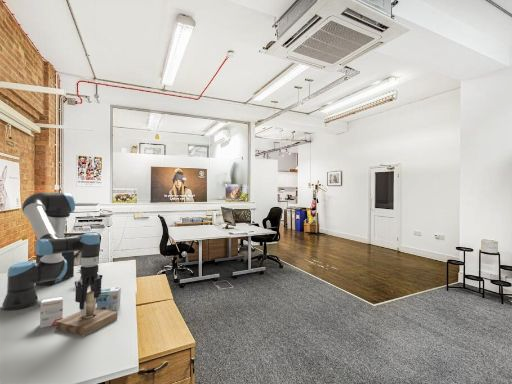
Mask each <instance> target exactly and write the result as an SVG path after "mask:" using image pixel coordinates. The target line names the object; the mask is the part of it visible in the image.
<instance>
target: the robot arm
mask: <svg viewBox="0 0 512 384" xmlns="http://www.w3.org/2000/svg"><path fill="white" fill-rule="evenodd" d="M75 209H76V202H75V199H74V197H73V195H72V193H69V192H68V193H67V192H66V193H65V192H37V193H33V194H30V195H29V196H28V197H26V198H25V200H23V203H22V206H21V210H22V211H21V212H22V213H23V215H24V216H25V217H26V218H28V220H29V223H30V225H31V227H32V229H33V232H34V234H35V236H36V238H37V240H36V241H35V246H34V248H35V254H37V255H44V256H43V257H42V258H41V259H40V262H39V263H36V261H35V260H27V261H21V262H17V263H14V264H12V265H10V266H9V267H8V271H7V284H6V285H7V286H6V287H7V288H6V289H7V290H6V295H5V297H4V300H3V302H2V306H1V308H2V310H3V311H4V310H5V311H15V310H21V309H26V308H29V307H32V306H34V305H36V304H38V300H39V298H38V297H39V296H38V295H37V291H36V290H35V286H36V285H35V283H40V282H46V281H51V280H56V279H60V278H62V277H63V276H64V275H65V273H66V271H67V261H66V260H65V259H64V257H63V256H62V253H66V252H73V251H74V252H80V266H79V268H80V269H79V270H80V271H79V272H80V273H79V274H80V279H79V280H75V281H74V286H75V298H74V300H75V303H79V306H78V307H79V312H80V315H81V316H86V302H85V299H86V294H87V291H89V287H90V291H91V290H92V291H94V312H95V311H96V308H97V298H98V297H99V296H98V295H100V294H101V288H102V280H103V275H102V274H99V273H98V272H99V261H100V260H99V258H100V257H99V256H100V234H99V233H97V232H88V233H87V232H86V233H83V234H76V235H71V236H65V232H66V231H65V229H66V225H67V224H66V223H67V218H69V217H70V216H71V214H72V213H73V212H75Z"/></svg>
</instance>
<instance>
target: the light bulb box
mask: <svg viewBox="0 0 512 384" xmlns="http://www.w3.org/2000/svg"><path fill="white" fill-rule="evenodd" d="M121 295H122V287H121V286H116V287H114V286H113V287H101V294H100V295H98V296H99V297H98V298H97V303H96V308H99V309H104V310H110V311H115V312H117V311H118V310H119V309H120V307H121ZM118 308H119V309H118ZM116 310H117V311H116Z"/></svg>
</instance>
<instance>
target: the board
mask: <svg viewBox="0 0 512 384" xmlns="http://www.w3.org/2000/svg"><path fill="white" fill-rule="evenodd" d="M116 320H118V311H110V310H104V309H99V308H97V307H96V311H95V312H93V317H92V318H90V319H88V320H85V319H83V316H81V315H80V311H78V312H75V313H73V314H71V315H68V316H65V317H63V319H61V320H58V321H56V325H55V330H56V331H57V330H58V331H62V332H66V331H67V332H66V333H70V332H71V334H75V335H79V336H83V337H86V336H88V335H89V334H91V333H93V332H95V331H97V330H99V329H100V328H103V327H105V326H106V325H108V324H110V323H113V322H114V321H116Z"/></svg>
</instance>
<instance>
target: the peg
mask: <svg viewBox="0 0 512 384" xmlns="http://www.w3.org/2000/svg"><path fill="white" fill-rule="evenodd" d="M85 302H86V316H83V319H85V320H88V319H90V318H92V317H93V312H94V291H92V290H91V289H90V290H87V294H86V299H85Z"/></svg>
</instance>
